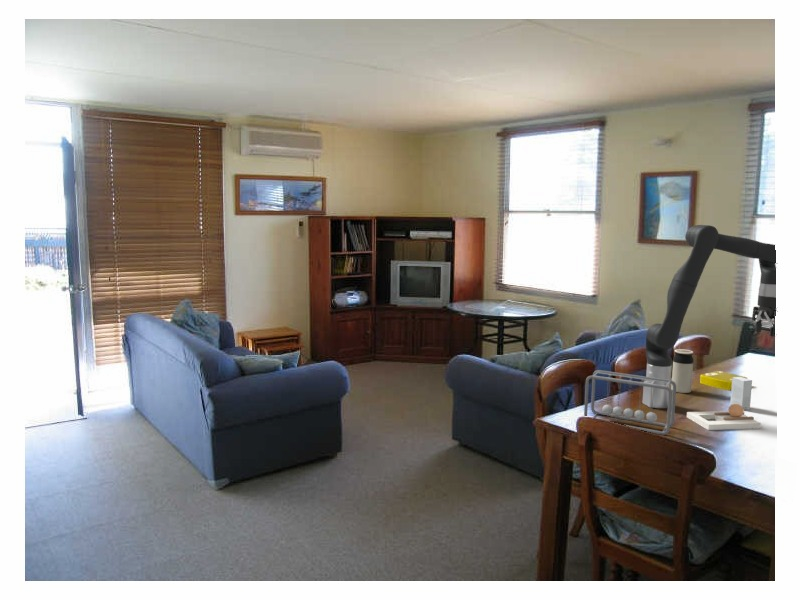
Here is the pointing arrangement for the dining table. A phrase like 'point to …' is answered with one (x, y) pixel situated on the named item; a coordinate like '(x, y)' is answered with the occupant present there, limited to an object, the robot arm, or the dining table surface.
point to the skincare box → (741, 392)
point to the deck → (722, 420)
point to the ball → (735, 410)
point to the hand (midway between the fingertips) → (765, 334)
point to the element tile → (718, 379)
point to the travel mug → (682, 370)
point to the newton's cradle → (629, 412)
